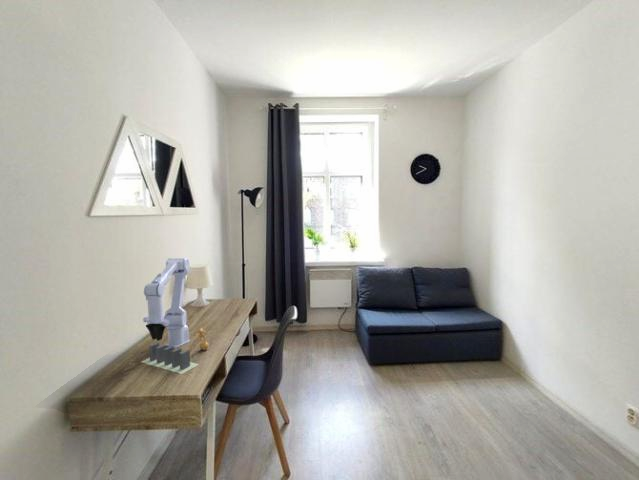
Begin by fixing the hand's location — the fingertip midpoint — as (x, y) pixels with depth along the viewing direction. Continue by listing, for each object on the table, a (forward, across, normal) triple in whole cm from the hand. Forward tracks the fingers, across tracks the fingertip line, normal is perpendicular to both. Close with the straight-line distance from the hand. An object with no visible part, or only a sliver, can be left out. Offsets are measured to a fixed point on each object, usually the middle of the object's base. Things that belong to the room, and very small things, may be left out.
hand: (157, 339), depth 139 cm
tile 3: (+10, +7, 0) cm, 12 cm away
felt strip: (+10, +7, 0) cm, 12 cm away
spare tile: (+10, +3, 0) cm, 10 cm away
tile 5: (+10, +17, 0) cm, 20 cm away
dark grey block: (+10, +12, 0) cm, 16 cm away
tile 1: (+10, -2, 0) cm, 10 cm away
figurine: (+10, +12, +16) cm, 22 cm away
